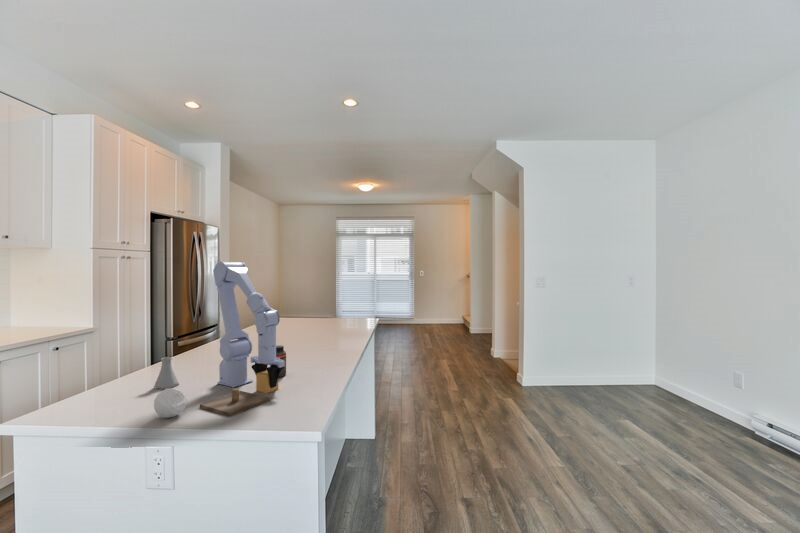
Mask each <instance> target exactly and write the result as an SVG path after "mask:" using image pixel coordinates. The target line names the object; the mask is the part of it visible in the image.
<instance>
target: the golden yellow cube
mask: <svg viewBox="0 0 800 533" xmlns="http://www.w3.org/2000/svg"><path fill="white" fill-rule="evenodd" d="M255 378H256V379H255V380H256V382H255V383H256V384H255V385H256V386H255V387H256V388H255V389H256V390H255V391H257V392H259V393H263V394H269V393H271V392H274V391H278V390H279V380H278V381H277V385H276V387H273V388H270V384H269V375H268V372H267V370H265V371H262V372H259V373H256V374H255Z"/></svg>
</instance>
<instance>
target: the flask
mask: <svg viewBox="0 0 800 533" xmlns="http://www.w3.org/2000/svg"><path fill="white" fill-rule="evenodd" d="M160 360H161V366H160V367H161V368H160V370H159V374H158V376H157V379H156V381H155V383H154V385H153V388H154V389H157V390H165V389H167V388H174V387H176V386H179V385H180V383H179V381H178V379H177V376H176V374H175V372H174V370H173V366H172V360H173V357H169V356H166V357H162V358H160Z"/></svg>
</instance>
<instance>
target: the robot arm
mask: <svg viewBox="0 0 800 533" xmlns="http://www.w3.org/2000/svg"><path fill="white" fill-rule="evenodd" d="M212 273H213V278H214V283H215V286H216V290H217V294H218V299H219V304H220V305H219V306H220V311H221V315H222V321H223V326H224V330H225V334H224V335H223V336H222V337H221V338H220V339H219V346H220V347H219V354H220V356H221V358H222V359H221V361H220V363H219V370H218V371H219V381H218V382H217V383H216V384H218V385H221V386H222V385H223V386H227V387H232V388H237V387H239V386H242V385H246V384H248V383H251V382H253V381H254V380H253V379H249V378H248V358H249V357H250V363H252V365H251V369H252V370H253V372H254V374H255V375H256V373H259V372H262V371H265V370H267V372H268V375H269V384H270V388H273V387H276V385H277V381H278V382H279V378H280V377H279V374H280V372H281V370H282V369H283V367H284V366H285V361H284V360H281V359H278V358H276V346H277V326H278V325H279V323H280V320H281V318H280V317H281V316H280V314H279V311H278V310H276V309H273V307H270V305H269V303H268V302H267V300H266V299H265V297H264V295H263V294H262V293H260V292H257V291H256V288H255V287H254V285H253V283H252V281H251V279H250V277H249V275H248V273H249V268H248V267H247V265H246V263H245V262H243V261H218V262H216V264H215V266H214V268H213V271H212ZM236 286H238V287H239V288H240V290H241V292H243V294H244V295H245V297H246V301H245V302H246V305H248V308H249V309H250V311H251V313H252V314H253V316H254V319H253V322H254V323H253V324H254V326H255V327H256V332H257V343H258V344H257V346H258V348H257V349H258V350H257V352H258V355H254V356H250V354H251V353H252V351H253V344H252V341H251V339H250V336H249V333H247V332H245V330H242V326H241V321H240V315H239V310H238V305H237V304H238V303H237V300H236V296H235V287H236ZM253 363H254V364H253ZM270 365H271V367H270Z"/></svg>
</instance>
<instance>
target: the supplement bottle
mask: <svg viewBox="0 0 800 533" xmlns="http://www.w3.org/2000/svg"><path fill="white" fill-rule="evenodd" d="M284 347H285V346H284V345H281V344H280V345H276V358H278V359H281V360H284V361H285V366H284V367H283V369H282V370H281V372H280V374H279V377H278V378H281V377H284V376H286V375H287V353H286V351H285V350H284ZM269 367H271V365H269Z"/></svg>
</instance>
